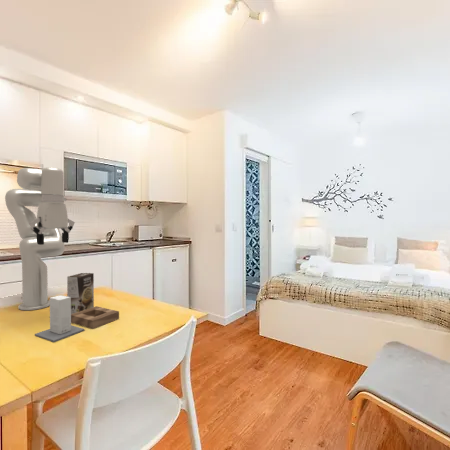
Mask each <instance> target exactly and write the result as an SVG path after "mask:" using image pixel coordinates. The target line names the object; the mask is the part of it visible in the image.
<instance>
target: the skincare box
mask: <svg viewBox="0 0 450 450" xmlns="http://www.w3.org/2000/svg"><path fill="white" fill-rule="evenodd" d="M49 300H50V306H49V329H50V332H54V333H57V334H63V333H66V332H68V331H71V325H72V323H71V297H67V296H66V295H56V296H52V297H51V296H50V297H49Z"/></svg>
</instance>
